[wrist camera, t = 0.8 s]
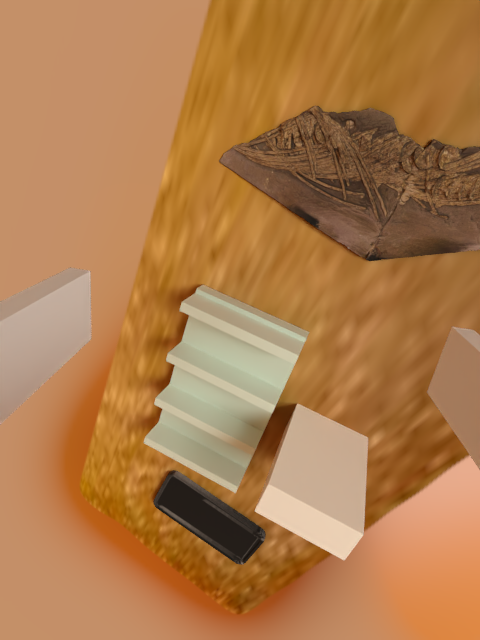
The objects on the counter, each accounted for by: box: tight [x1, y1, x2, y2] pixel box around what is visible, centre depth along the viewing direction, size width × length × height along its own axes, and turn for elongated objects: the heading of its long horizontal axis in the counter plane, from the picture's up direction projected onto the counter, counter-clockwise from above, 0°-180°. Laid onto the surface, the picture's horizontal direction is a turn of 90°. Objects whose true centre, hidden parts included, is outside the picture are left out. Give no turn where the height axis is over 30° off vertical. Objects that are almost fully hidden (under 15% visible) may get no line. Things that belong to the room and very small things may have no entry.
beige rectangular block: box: [255, 404, 368, 560], centre depth 36 cm, size 4×8×12 cm, turn 71°
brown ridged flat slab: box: [219, 106, 480, 261], centre depth 31 cm, size 26×11×1 cm, turn 74°
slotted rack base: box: [144, 285, 309, 493], centre depth 41 cm, size 20×12×4 cm, turn 161°
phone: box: [154, 471, 265, 564], centre depth 51 cm, size 8×1×15 cm
